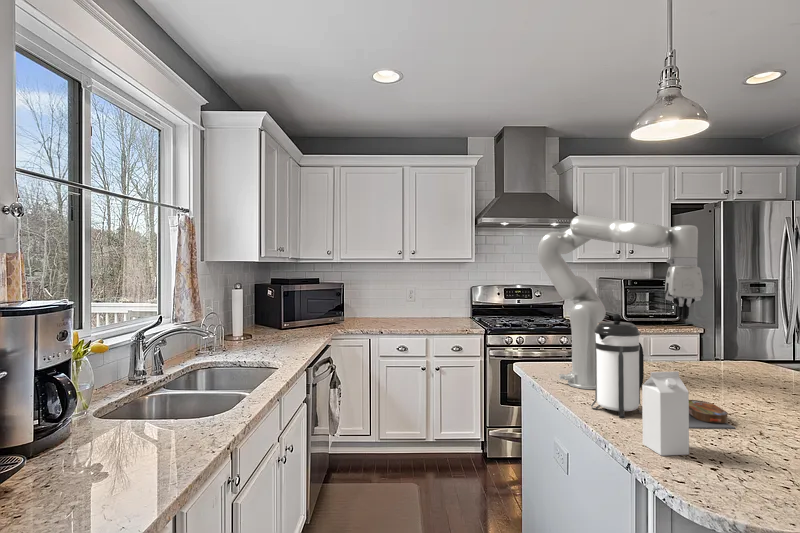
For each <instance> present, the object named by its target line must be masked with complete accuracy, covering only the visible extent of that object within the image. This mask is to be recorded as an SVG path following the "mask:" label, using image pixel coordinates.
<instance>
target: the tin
mask: <svg viewBox="0 0 800 533" xmlns="http://www.w3.org/2000/svg"><path fill="white" fill-rule="evenodd" d="M689 414H690V415H691V416H693V417H694V418H695V419H697V420H700V421H703V422H709V423H728V415H729V413H728V411H726V410H724V409H723V408H721V407H720V406H718V405H716V404H714V403H711V402H709V401H704V400H698V399H689Z"/></svg>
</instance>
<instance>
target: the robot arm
mask: <svg viewBox="0 0 800 533" xmlns="http://www.w3.org/2000/svg"><path fill="white" fill-rule="evenodd" d="M590 240H595V241H596V240H597V241H602V242H609V243H615V244H618V243H623V244H629V245H630V244H631V245H635V246H637V245H638V246H642V247H648V248H654V249H662V248H663V249H664V248H670V257H669V259H666V263H667V264H669V265H670V266H669V267H668V268H667V271H666V276H665V285H664V293H665V300H667V301H670V302H672V303H674V305H675V306H676V316H677V318H678V319H681V320H685V319H686V320H688V318H689V316H690V315H689V313H690V307H691V305H692V304H694V302H698V301H699V302H700V301H701V300H702V297H703V294H704V281H703V276H702V270H701V267H699V266H698V252H699V251H698V250H699V249H698V246H699V245H698V244H699V229H698V227H697V226H696V225H691V224H686V225H685V224H684V225H683V224H681V225H675V226H663V225H659V224H655V223H645V222H637V221H630V220H629V221H628V220H624V219H619V218H612V217H603V216H595V215H588V214H586V215H585V214H579V215H576V216H574V217H573V218H572V219H571V220H570V224H569V228H568V229H566V230H564V231H563V232H559V231H550V232H548V233H546V234H545V235H544V236H543V237H541V239H540V241H539V243H538V246H537V258H538V261H539V263H540V265H541V266H542V268H543V270H544V271H545V273H546V274H547V277H548V278H549V280H550V282H551V283H552V285H553V286H554V288H555V289H556V292H557V293H558V295H559V297H561V299H563V300H564V301H566V302H567V301H568V302H572V303H573V304H574V305H573V306H572V307H571V309H570V310H569V311H570V312H569V322H570V323H569V324H570V330H571V371H569V372H568V373H567V374H564V373H560V374H558V378H559V380H564V381H567V384H568V386H570V387H573V388H577V389H583V390H595V341H596V334H595V332H594V330H595V329H596V327H597V325H598V324H600V323H602V322H603V320H604V319H605V317H606V306H605V305H604V303H603V302H602V300H601V299H600V297H599V295H598V293H596V291H595V289H594V288H593V285H591V283H590V282H589V281H588V280H587V279H586V278H585V277H582V276H579V275H575V273H574V272H573V271H572V269H571V268H570V266H569V264H568V262H566V260H565V259H564V258H563V257H562V255H566V254H569V253H572V252H573V251H576V250H577V249H578V248H580V247H581V246H583V245H585V244H586V243H588V242H589V241H590Z"/></svg>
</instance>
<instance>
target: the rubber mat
mask: <svg viewBox="0 0 800 533" xmlns="http://www.w3.org/2000/svg"><path fill="white" fill-rule="evenodd" d="M689 429H703V430H704V429H706V430H708V429H709V430H710V429H712V430H714V429H717V430H718V429H719V430H723V429H724V430H736V427H735V426H734V425H731V424H729V423H728V422H726V423H709V422H703V421H700V420H697V419H695V418H694V417H693V416H691V415H690V414H689Z"/></svg>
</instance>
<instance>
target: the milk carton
mask: <svg viewBox="0 0 800 533" xmlns="http://www.w3.org/2000/svg"><path fill="white" fill-rule="evenodd" d="M679 373H680V371H654V372H653V371H652V372H651V371H650V377H649V378H648V379H647V380H645V382H643V383H642V386H641V388H642V393H641V394H642V398H641V401H642V404H641V406H642V407H641V408H642V410H641V411H642V413H641V414H642V415H641V416H642V445H644V446H645V447H646V448H648V449H650V450H652V451H653V452H655V453H656V454H658V455H659V456H663V457H664V456H682V455H683V456H685V455H687V456H688V455H689V454H690V432H689V430H690V428H689V400H690V398H689V397H690V396H689V395H690V394H689V390H688V389H687V387H686V385H685V384H684V382H683V380H682V379H681V378H680V374H679Z"/></svg>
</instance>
